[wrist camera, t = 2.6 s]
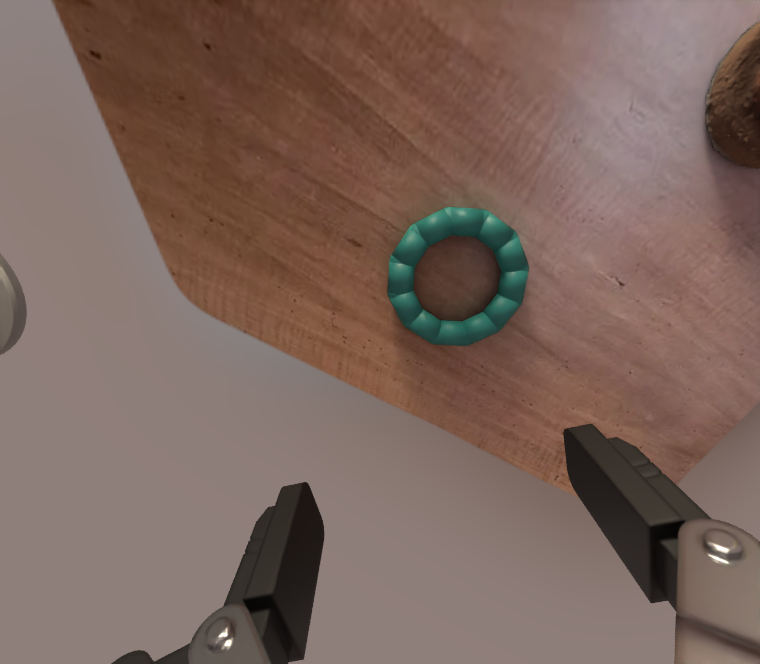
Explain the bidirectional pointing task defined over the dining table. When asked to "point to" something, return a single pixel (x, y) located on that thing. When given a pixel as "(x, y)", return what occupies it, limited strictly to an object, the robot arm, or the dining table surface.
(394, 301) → the ring
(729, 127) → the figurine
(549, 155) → the dining table surface
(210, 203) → the dining table surface
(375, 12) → the dining table surface
